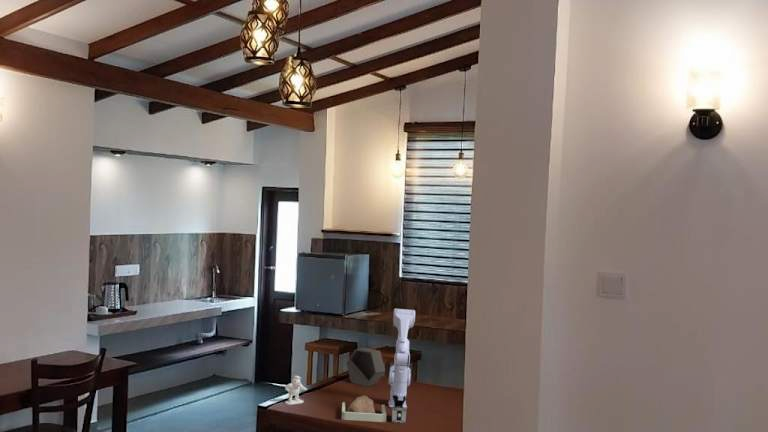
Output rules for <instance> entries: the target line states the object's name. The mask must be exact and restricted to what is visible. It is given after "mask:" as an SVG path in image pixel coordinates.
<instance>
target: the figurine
mask: <svg viewBox="0 0 768 432" xmlns="http://www.w3.org/2000/svg"><path fill="white" fill-rule="evenodd" d="M301 380H302V377H301V376H300V375H294V376H293V379H292V382H291V383H288V384H286V385H285V386H284V389H285V391H286V392H287V393H288V400H286V401H285V402H284V404H285V405H286V406H287V405H288V406H291V405H299V404H303V403H304V399H300V396H299V395H300V394H299V393H300V392H301V391H305V392H306V391H307V390H308V388H306V387H305V386H304V385H303V384H302V382H301ZM293 396H294V399H293Z"/></svg>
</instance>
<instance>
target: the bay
mask: <svg viewBox="0 0 768 432" xmlns="http://www.w3.org/2000/svg"><path fill="white" fill-rule="evenodd" d="M341 403H342V404H341V420H344V421H357V422H358V421H359V422H372V423H373V422H375V423H376V422H377V423H387V409H386V405H385V404H381V410H380V412H381V413H375V414H374V413H357V412H347V411H346V402H345V401H343V402H341Z"/></svg>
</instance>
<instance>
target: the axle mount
mask: <svg viewBox="0 0 768 432" xmlns="http://www.w3.org/2000/svg"><path fill="white" fill-rule="evenodd" d="M397 410H399V411H401V419H397ZM406 419H407V408H406V407H394V406H393V407H392V413H391V423H397V422H400V423H399V424H401V423H402V424H405V423H406Z"/></svg>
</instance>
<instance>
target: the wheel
mask: <svg viewBox="0 0 768 432" xmlns="http://www.w3.org/2000/svg"><path fill="white" fill-rule="evenodd" d="M397 407H400V406H397ZM397 419H401V411H399V410H397Z"/></svg>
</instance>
